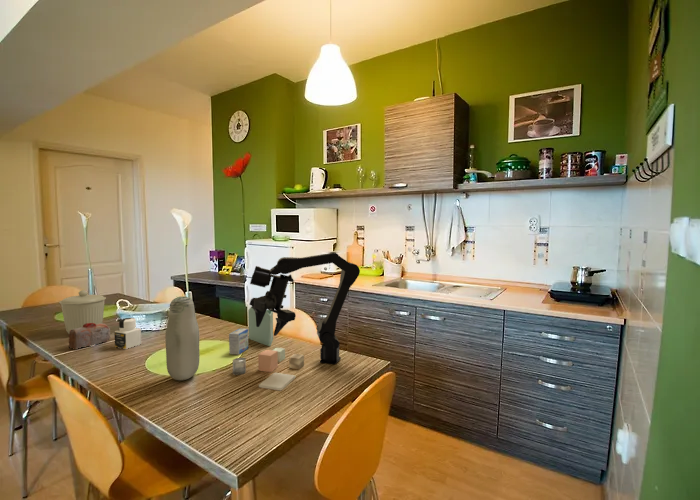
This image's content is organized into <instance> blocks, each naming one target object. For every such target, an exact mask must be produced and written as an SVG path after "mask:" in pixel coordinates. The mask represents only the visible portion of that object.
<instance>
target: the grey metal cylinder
mask: <svg viewBox="0 0 700 500" xmlns="http://www.w3.org/2000/svg"><path fill="white" fill-rule="evenodd" d="M246 373H247V362H246V358H244V357H237V358H233V359H232V375H233V376H234V375H235V376H240V375H244V374H246Z"/></svg>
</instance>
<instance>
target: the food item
mask: <svg viewBox="0 0 700 500" xmlns="http://www.w3.org/2000/svg"><path fill="white" fill-rule="evenodd" d="M110 339H111V328H110V327H109V325H107V324H106V323H104V322H102V323H101V324H95V323H86V324H84V325H83V327H80V328H76V329H71V330H70V332H69V334H68V348H69V347H70V348H74V349H78V348H81V347H85V346H89V347H90V345H94V344H97V345H100V344H99V343H101V344H103V343H102V342H104V343H106V342H108V341H109V340H110ZM70 348H69V349H70ZM85 348H86V347H85ZM74 349H73V350H74ZM81 349H82V348H81ZM78 350H79V349H78Z"/></svg>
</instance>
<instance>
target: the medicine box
mask: <svg viewBox="0 0 700 500" xmlns="http://www.w3.org/2000/svg"><path fill="white" fill-rule="evenodd" d="M228 347H229V348H228V350H229V351H228V352H229V355H235V356H237V355H238V356H239V354H240V355H241V354H242V353H244V352H246V350H248V349H249V328H237V329H236V330H233V331H231V332H230V333H228Z"/></svg>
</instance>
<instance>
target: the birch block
mask: <svg viewBox="0 0 700 500" xmlns="http://www.w3.org/2000/svg"><path fill="white" fill-rule="evenodd" d="M288 361H289V363H288V367H289V369H296V370H300V369H301V368H303V366H304V365H305V355H304V354H302V353H301V354H299V353H293V354H292V355H291V356H289V360H288Z"/></svg>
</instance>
